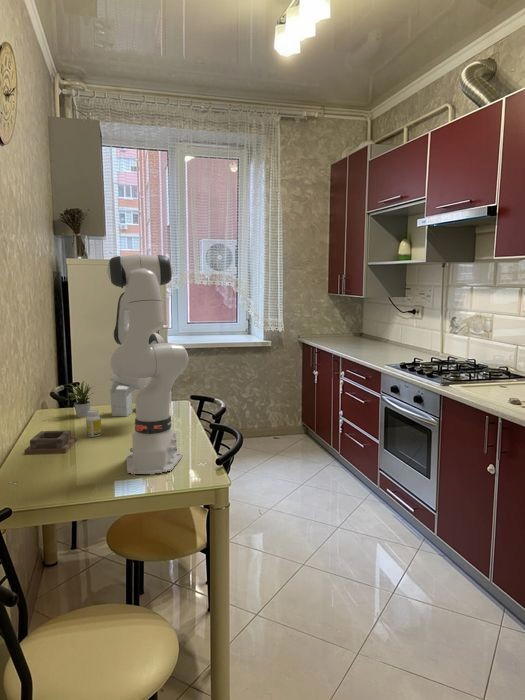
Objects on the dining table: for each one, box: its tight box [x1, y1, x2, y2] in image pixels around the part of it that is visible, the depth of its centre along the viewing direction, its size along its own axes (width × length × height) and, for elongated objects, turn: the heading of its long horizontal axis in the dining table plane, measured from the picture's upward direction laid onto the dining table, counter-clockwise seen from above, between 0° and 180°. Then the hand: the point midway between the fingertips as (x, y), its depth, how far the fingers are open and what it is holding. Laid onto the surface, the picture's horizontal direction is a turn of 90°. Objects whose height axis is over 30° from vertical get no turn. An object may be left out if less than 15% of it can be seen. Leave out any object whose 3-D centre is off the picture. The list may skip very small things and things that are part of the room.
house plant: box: [63, 380, 93, 418], centre depth 224 cm, size 14×14×16 cm
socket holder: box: [24, 429, 78, 455], centre depth 181 cm, size 14×14×4 cm
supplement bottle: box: [85, 409, 102, 438], centre depth 195 cm, size 5×5×10 cm
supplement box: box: [109, 385, 133, 417], centre depth 226 cm, size 7×7×13 cm
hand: (117, 394), depth 202 cm, fingers open, 8 cm apart
